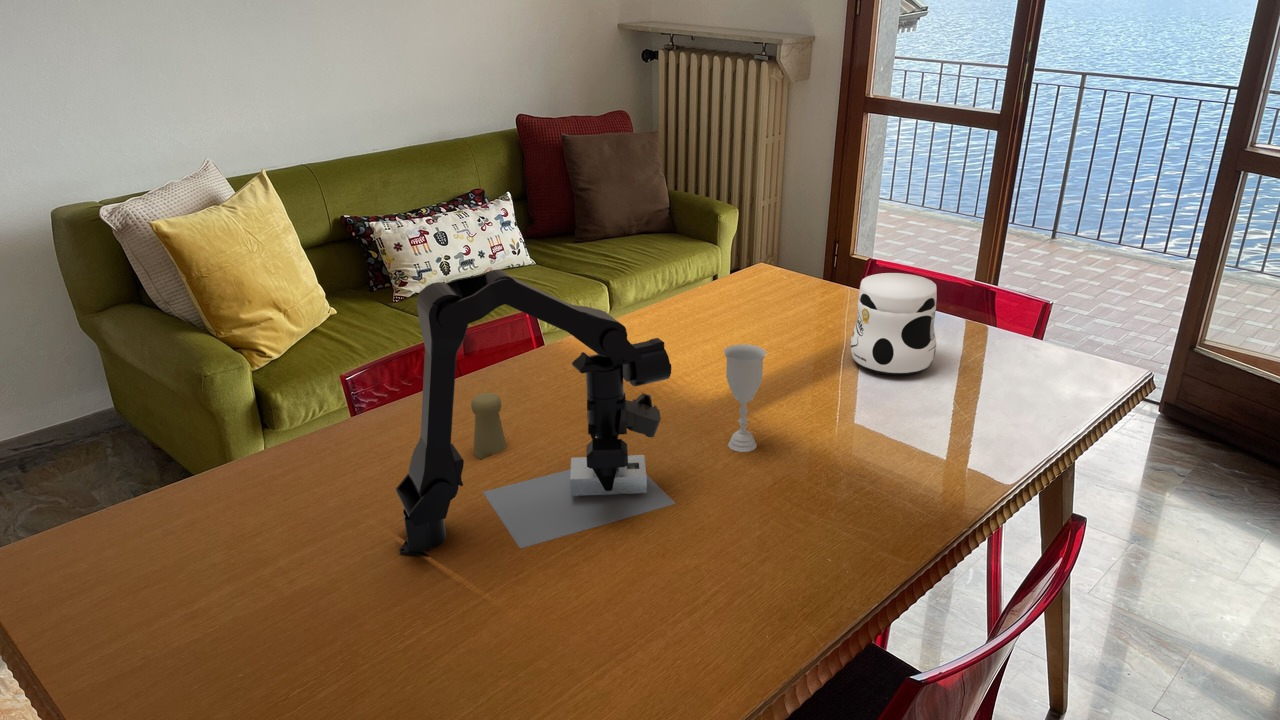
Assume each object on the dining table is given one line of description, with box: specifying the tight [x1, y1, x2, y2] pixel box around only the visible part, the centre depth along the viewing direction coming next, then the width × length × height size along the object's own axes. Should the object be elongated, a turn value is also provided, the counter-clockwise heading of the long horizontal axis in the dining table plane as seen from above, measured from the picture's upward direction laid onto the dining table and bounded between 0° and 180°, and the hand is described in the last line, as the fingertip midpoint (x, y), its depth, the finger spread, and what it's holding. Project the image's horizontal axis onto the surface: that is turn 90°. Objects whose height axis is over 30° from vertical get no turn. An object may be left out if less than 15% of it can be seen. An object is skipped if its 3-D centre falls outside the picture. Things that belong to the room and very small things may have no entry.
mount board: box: [482, 468, 677, 550], centre depth 151 cm, size 26×18×1 cm
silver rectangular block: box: [570, 454, 647, 496], centre depth 152 cm, size 12×7×3 cm, turn 93°
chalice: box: [723, 344, 767, 453], centre depth 164 cm, size 7×7×18 cm
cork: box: [470, 392, 508, 460], centre depth 165 cm, size 6×6×11 cm
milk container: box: [850, 272, 938, 376], centre depth 195 cm, size 17×17×18 cm
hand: (608, 478), depth 152 cm, fingers closed on silver rectangular block, 7 cm apart
